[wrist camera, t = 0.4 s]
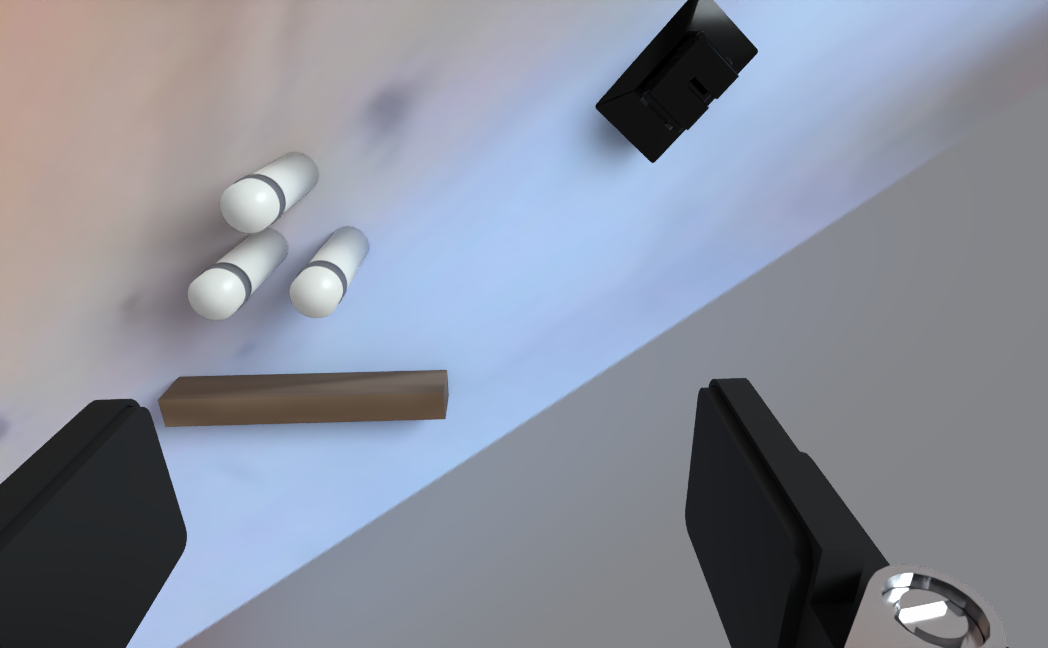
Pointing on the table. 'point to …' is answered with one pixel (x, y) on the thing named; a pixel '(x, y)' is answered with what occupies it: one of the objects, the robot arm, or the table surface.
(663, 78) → the black boxy piece
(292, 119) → the table surface
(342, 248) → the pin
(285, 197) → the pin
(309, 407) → the back wall
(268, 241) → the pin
